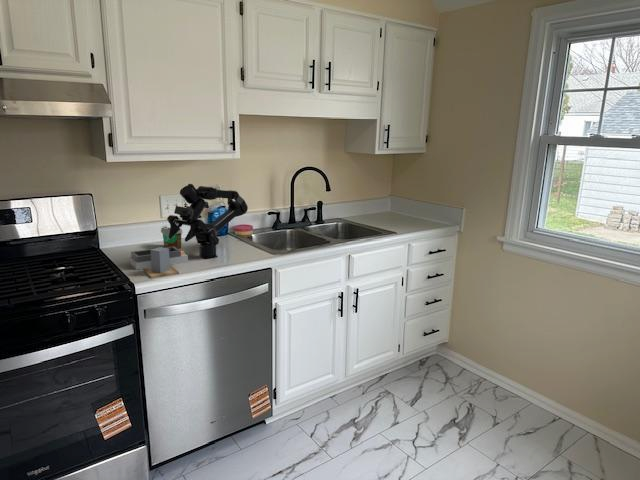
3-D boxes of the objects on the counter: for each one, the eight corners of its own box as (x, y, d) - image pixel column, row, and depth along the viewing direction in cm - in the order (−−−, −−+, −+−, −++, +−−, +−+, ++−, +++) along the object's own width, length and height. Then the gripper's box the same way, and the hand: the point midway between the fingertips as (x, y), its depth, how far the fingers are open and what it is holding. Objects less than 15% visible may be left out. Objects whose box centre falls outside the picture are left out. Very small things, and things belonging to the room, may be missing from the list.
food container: (156, 247, 228) (155, 227, 226) (166, 244, 233) (165, 225, 231) (172, 251, 221) (171, 230, 219) (183, 248, 226) (182, 228, 224)
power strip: (180, 257, 212) (180, 245, 211) (188, 262, 205) (187, 250, 204) (130, 264, 199) (129, 252, 198) (136, 269, 192) (135, 257, 191)
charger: (161, 267, 193) (160, 247, 191) (170, 269, 191) (168, 248, 189) (151, 271, 189) (150, 249, 187) (160, 273, 187) (159, 251, 184)
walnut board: (170, 266, 198) (169, 265, 197) (178, 273, 189) (178, 271, 189) (143, 270, 191) (143, 269, 191) (151, 278, 183) (151, 276, 182)
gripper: (169, 196, 200) (150, 225, 194) (201, 200, 192) (183, 231, 185) (183, 212, 209) (165, 240, 202) (215, 216, 200) (197, 246, 193)
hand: (177, 239), depth 195 cm, fingers open, 9 cm apart
